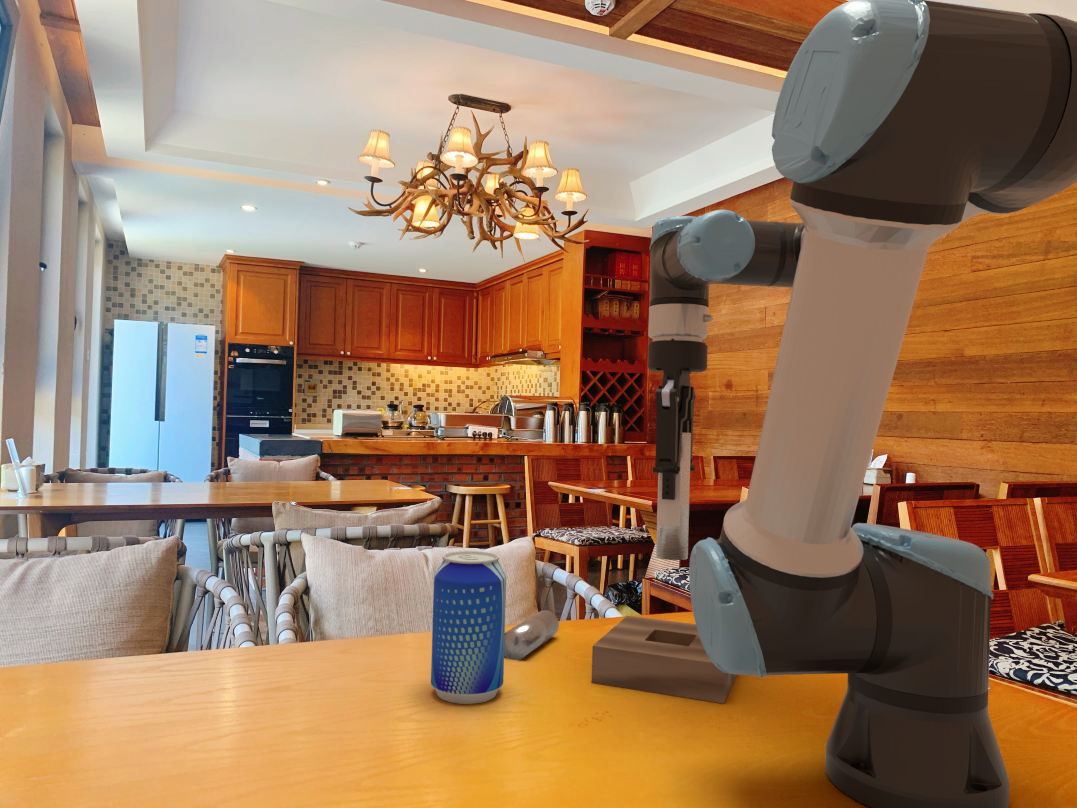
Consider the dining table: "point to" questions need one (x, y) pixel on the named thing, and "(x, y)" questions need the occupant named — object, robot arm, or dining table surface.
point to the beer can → (468, 627)
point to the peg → (676, 538)
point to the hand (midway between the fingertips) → (672, 522)
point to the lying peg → (530, 635)
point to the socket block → (658, 660)
